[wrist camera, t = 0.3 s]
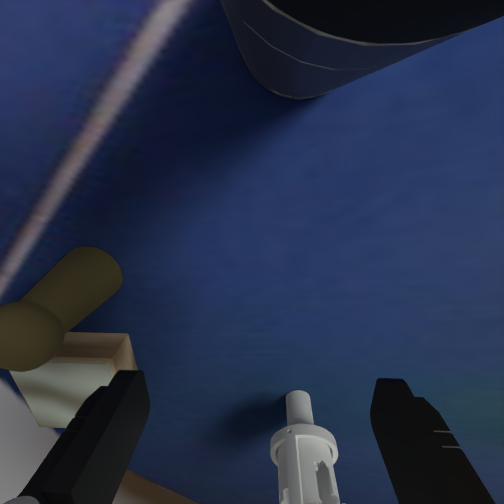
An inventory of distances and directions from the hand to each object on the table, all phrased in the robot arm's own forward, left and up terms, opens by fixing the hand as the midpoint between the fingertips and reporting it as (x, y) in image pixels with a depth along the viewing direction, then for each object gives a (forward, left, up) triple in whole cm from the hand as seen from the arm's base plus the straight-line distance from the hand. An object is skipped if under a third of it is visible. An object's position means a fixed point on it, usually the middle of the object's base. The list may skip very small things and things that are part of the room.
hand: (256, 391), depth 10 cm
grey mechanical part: (+24, +5, -18) cm, 30 cm away
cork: (+6, -17, -18) cm, 25 cm away
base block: (+20, -21, -17) cm, 34 cm away
